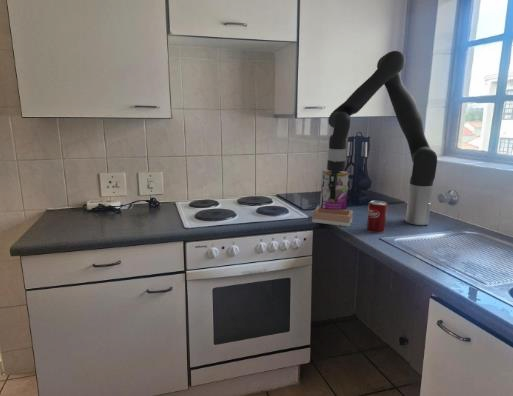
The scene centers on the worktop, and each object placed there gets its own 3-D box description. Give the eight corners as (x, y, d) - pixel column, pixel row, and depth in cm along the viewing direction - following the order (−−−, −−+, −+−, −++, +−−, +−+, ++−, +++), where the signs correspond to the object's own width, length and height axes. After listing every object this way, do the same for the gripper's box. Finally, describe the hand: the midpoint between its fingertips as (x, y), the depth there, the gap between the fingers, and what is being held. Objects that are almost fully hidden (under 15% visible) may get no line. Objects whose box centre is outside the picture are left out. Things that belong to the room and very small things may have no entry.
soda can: (372, 234, 153) (375, 205, 150) (363, 228, 160) (365, 200, 157) (388, 232, 155) (391, 204, 152) (378, 227, 162) (380, 200, 159)
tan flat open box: (352, 220, 171) (352, 210, 170) (348, 226, 162) (349, 216, 161) (317, 216, 177) (317, 206, 176) (312, 221, 168) (312, 212, 167)
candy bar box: (321, 209, 166) (323, 172, 162) (319, 206, 171) (321, 170, 167) (346, 210, 166) (349, 173, 162) (344, 207, 171) (347, 171, 167)
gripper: (330, 156, 171) (328, 193, 175) (324, 160, 158) (321, 200, 162) (347, 157, 168) (345, 194, 172) (342, 162, 155) (339, 201, 159)
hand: (333, 197), depth 167 cm, fingers closed on candy bar box, 6 cm apart
